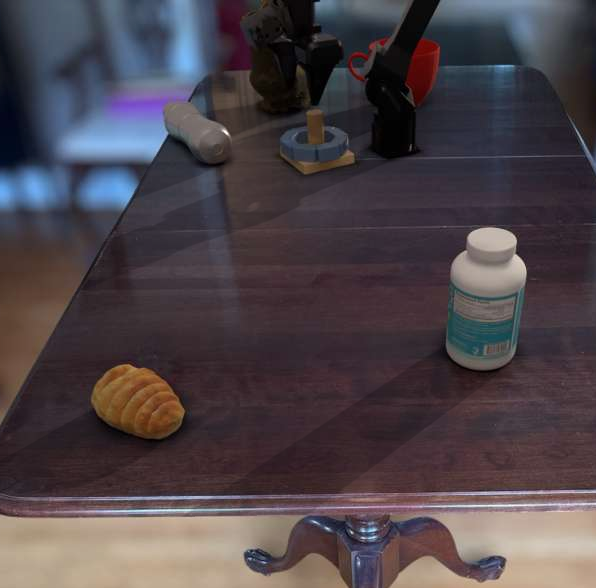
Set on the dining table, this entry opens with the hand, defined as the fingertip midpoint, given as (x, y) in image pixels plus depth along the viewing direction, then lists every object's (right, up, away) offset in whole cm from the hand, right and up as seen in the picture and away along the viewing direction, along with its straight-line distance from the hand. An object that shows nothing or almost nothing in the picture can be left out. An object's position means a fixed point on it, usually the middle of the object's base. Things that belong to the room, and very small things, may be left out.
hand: (301, 97), depth 113 cm
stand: (+2, -9, +3) cm, 10 cm away
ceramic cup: (+15, +9, +24) cm, 29 cm away
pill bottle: (+23, -44, -37) cm, 62 cm away
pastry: (-11, -50, -44) cm, 68 cm away
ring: (+2, -7, +2) cm, 8 cm away
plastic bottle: (-13, -9, -2) cm, 16 cm away
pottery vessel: (-5, +9, +24) cm, 26 cm away
